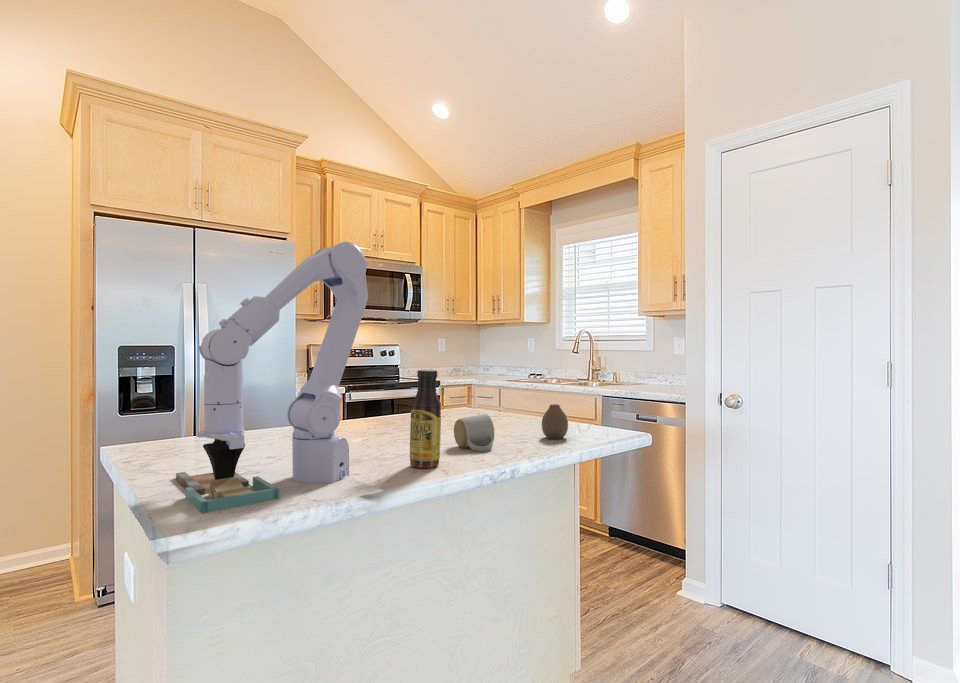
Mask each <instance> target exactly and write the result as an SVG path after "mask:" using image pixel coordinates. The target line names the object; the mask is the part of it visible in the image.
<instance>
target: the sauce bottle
mask: <svg viewBox="0 0 960 683" xmlns="http://www.w3.org/2000/svg"><path fill="white" fill-rule="evenodd" d="M437 378H438V370H437V369H436V370H435V369H418V370H417V379H418V380H417V391H416V393H415V394H416V395H415V398H414V400H413V401H414V402H413V405H412V407H411V410H410V428H409V429H410V430H409V431H410V432H409V433H410V434H409V460H410V461H409V462H410V463H409V464H410V466H411V467H413V468H416V469H432V468H435V467H438V466H439V464H440V459H441V440H442V439H441V438H442V437H441V433H442V432H441V431H442V430H441V429H442V428H441V426H442V415H441V414H442V413H441V412H442V411H441V410H442V404H441V400H440V398H439V397H438V394H437Z"/></svg>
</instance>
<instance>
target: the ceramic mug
mask: <svg viewBox="0 0 960 683" xmlns="http://www.w3.org/2000/svg"><path fill="white" fill-rule="evenodd" d="M494 427H495V425H494V422H493V421H492V418H491V416H490V415H488V414H487V413H483V414H479V415H471V416H465V417H460V418H459V419H456V421H455V423H454V425H453V437H454V441H455V443H456V445H457V446H458V447H460V448H462V449H469V448H470V449H471V450H473V451H475V452H478V453H485V452H488V451H490V450H492V448H493V444H494V440H495V434H496V433H495V428H494Z"/></svg>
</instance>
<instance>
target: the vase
mask: <svg viewBox="0 0 960 683" xmlns="http://www.w3.org/2000/svg"><path fill="white" fill-rule="evenodd" d="M568 421H569V420H568V417H567V414H566V413H565V412H564V411H563V410H562V408H561V406H560V404H558V403H553V404H552V403H551V404H550V405H549V407H548V409H547V410H546V411H545V412H544V414H543V416H542V419H541V430H542V433H543V435H544V436H545V437H546V438H547V439H549V440H561V439H564V438H565V436H566V435H567V433H568V429H569V422H568Z"/></svg>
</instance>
